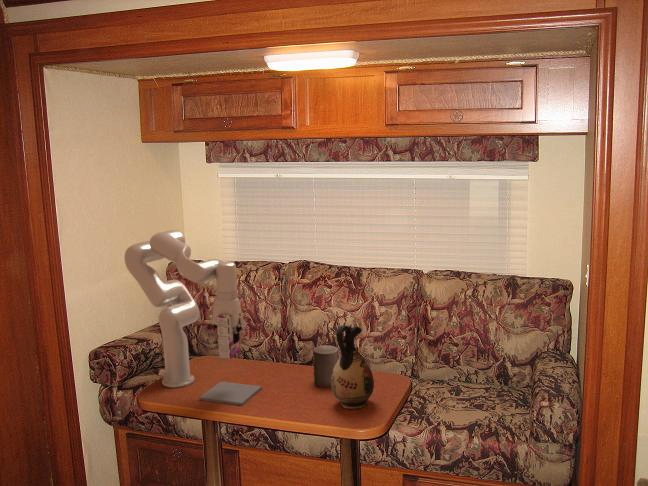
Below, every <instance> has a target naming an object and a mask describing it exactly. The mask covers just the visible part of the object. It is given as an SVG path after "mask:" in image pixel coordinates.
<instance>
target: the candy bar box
mask: <svg viewBox="0 0 648 486" xmlns="http://www.w3.org/2000/svg"><path fill="white" fill-rule="evenodd" d="M216 333H217V346H218V359H221V360H232V359H233V358H234V356H236V354H237V353H238V352H239V351H240V350H241V339H240V340H239V342H238V343H236V344H234V341H233V334H234V330H233V327H232V326H231V315H223V314H220V315H218V316H217V331H216ZM239 336H241V335H240V333H239Z"/></svg>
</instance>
